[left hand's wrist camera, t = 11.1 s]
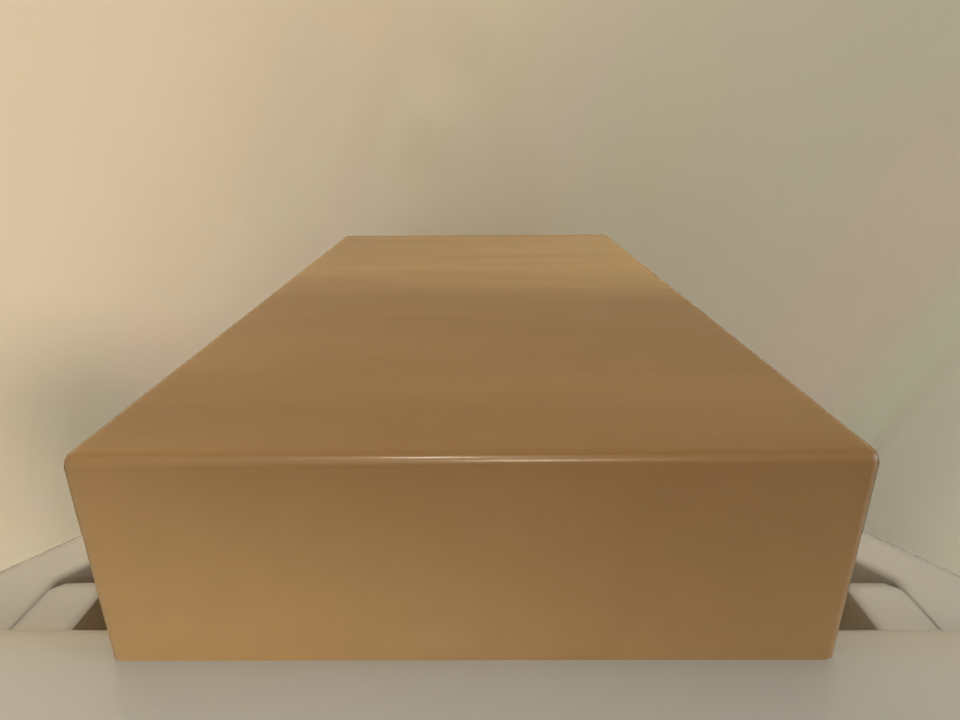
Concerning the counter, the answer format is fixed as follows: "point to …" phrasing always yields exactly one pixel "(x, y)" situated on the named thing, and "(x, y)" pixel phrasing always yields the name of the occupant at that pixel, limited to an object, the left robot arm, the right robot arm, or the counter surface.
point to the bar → (473, 473)
